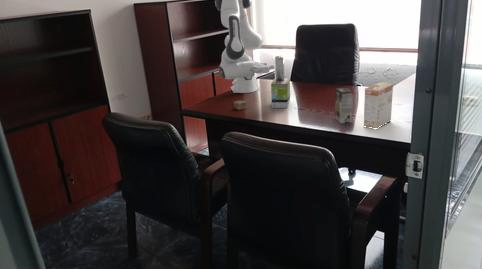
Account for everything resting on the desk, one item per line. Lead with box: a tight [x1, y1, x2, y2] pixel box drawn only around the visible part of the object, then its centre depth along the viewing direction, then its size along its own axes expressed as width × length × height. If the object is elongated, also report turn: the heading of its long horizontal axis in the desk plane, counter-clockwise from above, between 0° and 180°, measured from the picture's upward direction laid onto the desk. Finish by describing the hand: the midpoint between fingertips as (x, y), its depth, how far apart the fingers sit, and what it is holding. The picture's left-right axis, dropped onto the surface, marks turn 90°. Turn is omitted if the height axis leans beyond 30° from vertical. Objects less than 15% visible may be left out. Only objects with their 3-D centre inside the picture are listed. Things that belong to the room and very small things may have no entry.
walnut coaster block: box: [233, 100, 247, 111], centre depth 239 cm, size 5×5×4 cm
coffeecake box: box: [363, 81, 394, 129], centre depth 194 cm, size 15×7×20 cm, turn 133°
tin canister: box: [274, 55, 285, 81], centre depth 234 cm, size 5×5×14 cm
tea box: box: [270, 77, 291, 109], centre depth 239 cm, size 15×10×15 cm, turn 169°
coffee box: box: [334, 87, 354, 124], centre depth 204 cm, size 9×6×16 cm
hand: (269, 65), depth 231 cm, fingers open, 8 cm apart
